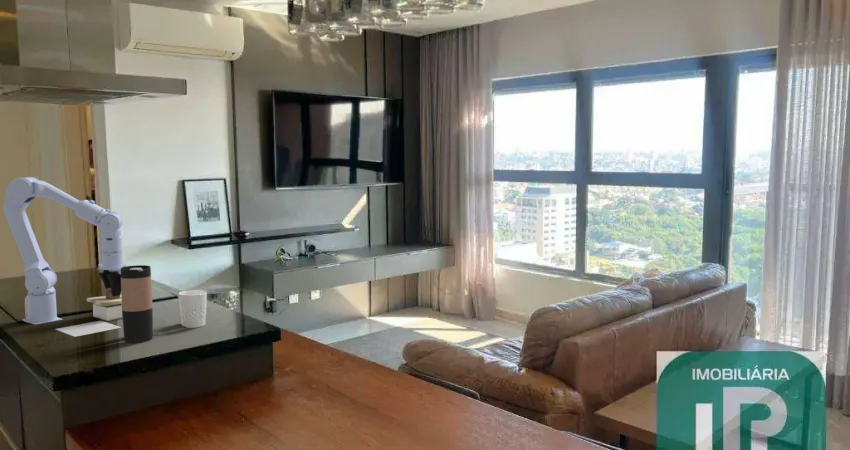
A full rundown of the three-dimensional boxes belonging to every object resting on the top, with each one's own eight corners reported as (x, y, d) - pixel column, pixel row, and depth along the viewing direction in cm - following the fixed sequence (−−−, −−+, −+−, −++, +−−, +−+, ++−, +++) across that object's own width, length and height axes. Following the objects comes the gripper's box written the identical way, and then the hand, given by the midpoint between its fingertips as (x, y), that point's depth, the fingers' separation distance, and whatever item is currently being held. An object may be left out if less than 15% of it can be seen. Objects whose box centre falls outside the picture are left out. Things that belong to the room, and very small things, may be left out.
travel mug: (129, 335, 178) (126, 265, 176) (157, 335, 179) (154, 265, 177) (118, 343, 171) (115, 269, 169) (148, 342, 171) (145, 269, 169)
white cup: (198, 329, 185) (197, 295, 184) (174, 328, 187) (172, 294, 186) (212, 322, 193) (211, 290, 192) (189, 321, 195) (188, 289, 194)
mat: (54, 330, 183) (54, 329, 183) (100, 322, 194) (100, 320, 194) (75, 338, 175) (74, 336, 175) (121, 329, 186) (121, 327, 186)
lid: (86, 301, 198) (86, 288, 198) (121, 296, 206) (121, 284, 206) (103, 306, 191) (103, 293, 191) (139, 301, 200) (139, 288, 199)
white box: (93, 318, 199) (92, 303, 198) (122, 312, 206) (121, 299, 205) (107, 322, 193) (106, 307, 193) (136, 317, 200) (135, 302, 200)
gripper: (136, 252, 196) (138, 295, 197) (113, 248, 205) (115, 290, 206) (113, 255, 191) (115, 299, 192) (91, 250, 200) (93, 293, 201)
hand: (113, 294), depth 199 cm, fingers closed on lid, 3 cm apart
